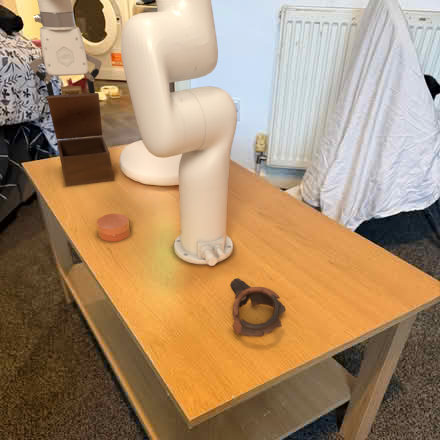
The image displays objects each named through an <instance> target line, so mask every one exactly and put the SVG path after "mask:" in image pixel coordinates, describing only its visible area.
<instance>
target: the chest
mask: <svg viewBox="0 0 440 440" xmlns="http://www.w3.org/2000/svg"><path fill="white" fill-rule="evenodd" d="M56 143H57V144H56V145H57V150H58V155H59V160H60V164H61V169H62V174H63V178H64V182H65V187H72V186H79V185H80V186H81V185H89V184H97V183H105V182H113V181H115V180H114V173H113V165H112V158H111V153H110V150H109V148H108V146H107V143H106V141H105V139H104V137H103V135H102V136H92V137H81V138H69V139H58V140H57V139H56Z"/></svg>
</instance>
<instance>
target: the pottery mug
mask: <svg viewBox="0 0 440 440" xmlns="http://www.w3.org/2000/svg"><path fill="white" fill-rule="evenodd" d="M229 286H230V289H231V291H232V292H233V294H234V296H235V297H234V299H235V300H234V302H233V306H232V317H233V318H232V319H233V324H232V325H231V326H232V329H233V331H234V332H235V333H236V334H237V335H242V336H245V337H254V338H255V337H256V338H257V337H264V336H265V335H268V334H271V333H272V332H273V331H274V330H277V329H278V328H282V322H281V319H280V316H281V315H283V314H284V312H285V311H286V307H285V305H284V304H283V303H282V302H281V301H280V300H279V299H281V297H280V296H279V294H278V293H277V292H275V291H274V290H272V289H270V288H268V287H264V286H250V285H249V284H247V282H245V280H242V279H240V278H239V277H237V278H236V277H235V278H234V279H233V280H231V282H230V285H229ZM249 300H250V302H251V306H252V307H255V306H258V305H265V306H269V307H271V308H272V309H273V314H272V315H271V317H270V318H269V319H268V320H266V321H265V322H261V323H251V322H248V321H247V320H244V319H242V318H241V319H240V308H242V307H243V306H245V305H246V304H247V303H248V301H249Z"/></svg>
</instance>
